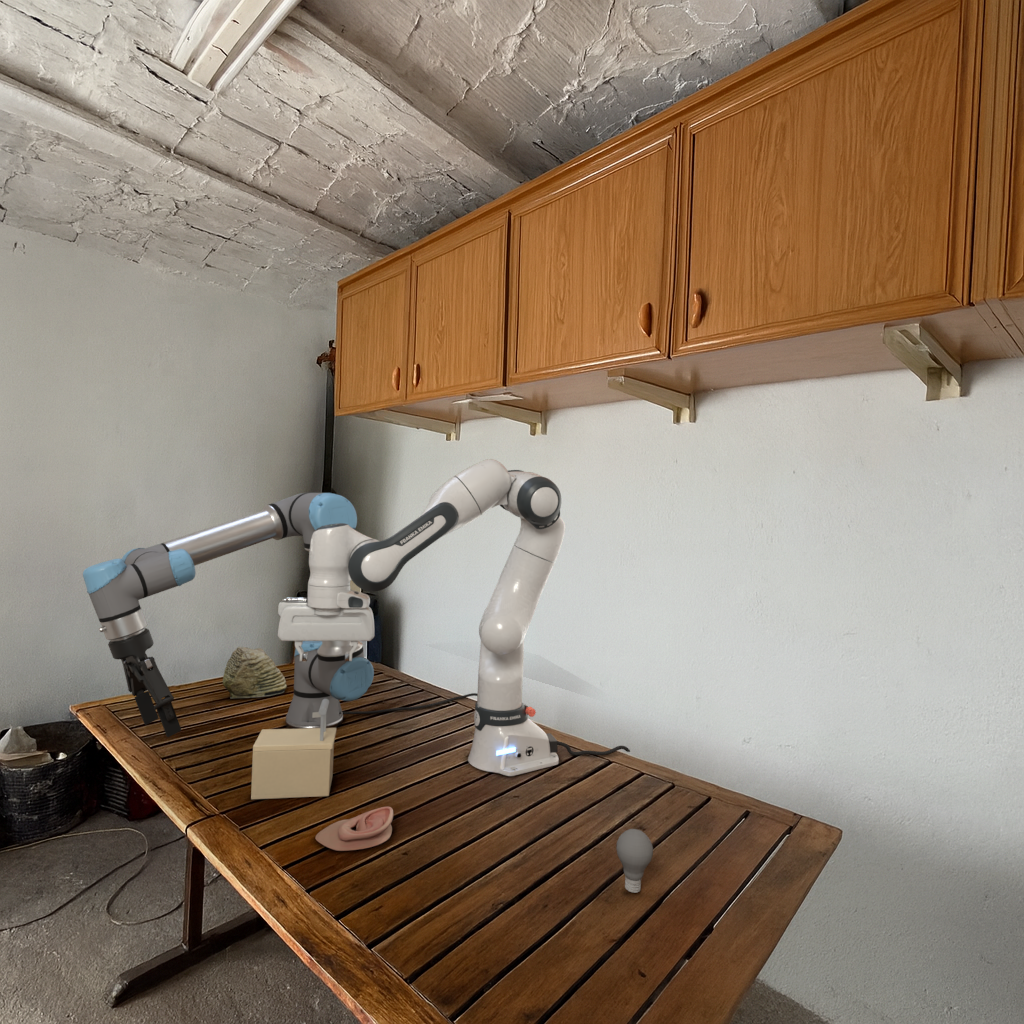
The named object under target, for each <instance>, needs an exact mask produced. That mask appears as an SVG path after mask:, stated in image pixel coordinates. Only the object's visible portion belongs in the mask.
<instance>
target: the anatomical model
mask: <svg viewBox="0 0 1024 1024" xmlns="http://www.w3.org/2000/svg"><path fill="white" fill-rule="evenodd" d="M393 819H394V809H393V808H392V807H391V806H382V807H378V808H375V809H372V810H368V811H365V812H363V813H361V814H358V815H357V816H354V817H351V818H348V819H341V820H338V821H336V822H334V823H331V824H330V825H328V826H326V827H324V828H323V829H321V830H320V831H319V832H318V833H317V834H316V835H315V840H316V841H317V842H318V843H319V844H320V845H322V846H324V847H326V848H328V849H330V850H333V851H336V852H347V851H357V850H364V849H369V848H372V847H376V846H379V845H382V844H383V843H385V842H387V841H388V840H389V839H390V838H391V836H392V832H393V826H392V822H393Z"/></svg>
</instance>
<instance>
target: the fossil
mask: <svg viewBox="0 0 1024 1024" xmlns="http://www.w3.org/2000/svg"><path fill="white" fill-rule="evenodd" d="M222 676H223V677H222V685H223V687H224V688H225V690H226V691H228V693H229V698H230V699H250V698H264V697H271V696H275V695H281V694H284V693H285V691H286V689H287V687H288V686H287V680H286V678H285V676H284V674H283V673H282V672H281V669H279V668H278V667H277V665H276V663H275V662H274V660H273V659H272V658H271V657H270V656H269V655H268V654H267V653H266V652H265V650H264V649H263V648H260V647H258V648H251V647H247V646H246V647H245V646H238V647H237V648H236V649H235V650H233V651H232V653H231V656H230V657H229V659H228V660H227V663H226V666H225V668H224V671H223V675H222Z"/></svg>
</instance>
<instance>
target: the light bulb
mask: <svg viewBox="0 0 1024 1024" xmlns="http://www.w3.org/2000/svg"><path fill="white" fill-rule="evenodd" d="M615 849H616V854H617V857H618V859H619V861H620V863H621V865H622V867H623V873H624V874H623V875H624V876H625V878H624V888H625V890H627V891H628V892H630V893H634V894H635V893H639V892H640V891H641V889H642V887H641V886H642V879H643V877H644V875H645V871H646V868H647V867H648V866H649V864H650V863H651V861H652V859H653V855H654V847H653V843H652V841H651V838H649V836H648V835H647V834H646V833H645V832H643V831H642V830H641V829H636V828H629V829H627V830H625V831H623V832H622V833H621V834H620V835H619V837H618V839H617V841H616V847H615Z"/></svg>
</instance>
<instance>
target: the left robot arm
mask: <svg viewBox="0 0 1024 1024" xmlns="http://www.w3.org/2000/svg"><path fill="white" fill-rule="evenodd" d="M339 523H345V524H348V525H349V526H350V527H351V528H353V529H354V530H356V528H357V525H358V515H357V511H356V508H355V506H354V504H353V503H352V502H351V501H350V500H349V499H347V497H345V496H343V495H341V494H337V493H332V492H310V491H309V492H307V491H306V492H305V491H304V492H301V493H297V494H294V495H291V496H289V497H285V498H283V499H280V500H277V501H275V502H272V503H268V504H265V505H264V506H263V508H262V510H259V511H257V512H253V513H251V514H248V515H244V516H241V517H238V518H235V519H232V520H229V521H226V522H223V523H220V524H216V525H213V526H210V527H208V528H207V527H206V528H204V529H201V530H198V531H195V532H192V533H188V534H186V535H183V536H179V537H176V538H173V539H170V540H167V541H163V542H161V543H158V544H154V545H151V546H148V547H138V548H132V549H130V550H128V551H127V552H125V554H123V555H122V556H121V558H113V559H109V560H107V561H102V562H99V563H96V564H93V565H90V566H88V567H86V568H85V569H84V570H83V573H82V577H83V581H84V584H85V587H86V593H87V594H88V596H89V599H90V601H91V603H92V607H93V609H94V611H95V614H96V617H97V618H98V621H99V624H100V625H101V627H99V628H98V630H99V633H103V634H104V636H105V640H107V641H108V643H107V645H108V648H109V652H110V654H111V656H112V658H113V659H114V660H121V663H122V668H123V671H124V672H123V673H124V675H125V680H126V686H127V691H128V692H129V693H131V695H132V696H133V697H134V698H133V699H134V700H135V703H136V705H137V708H138V711H139V713H140V716H141V719H142V721H143V724H144V725H145V726H147V725H149V724H151V723H153V722H155V721H157V720H159V719H160V723H161V725H162V729H163V730H164V733H165V735H166V738H170V737H171V736H174V735H176V734H177V733H180V732H181V731H182V727H181V724H180V721H179V719H178V717H177V713H176V711H175V708H174V706H173V703H172V702H174V700H175V698H174V696H173V694H172V692H171V691H170V690H171V689H170V688H169V685H167V683H166V681H165V679H164V677H163V674H162V673H161V671H160V669H159V667H158V664H157V663H156V659H155V657H153V656H148V655H147V653H146V652H147V651H148V650H149V649H151V648H152V647H153V646H154V643H155V642H154V640H153V637H152V634H151V632H150V629H148V628H146V627H147V626H148V622H147V620H146V616H145V615H144V611H143V609H142V607H141V605H140V601H139V600H142V599H145V598H148V597H151V596H153V595H156V594H159V593H162V592H165V591H168V590H170V589H174V588H176V587H182V585H185V584H187V583H188V582H191V581H193V580H194V579H195V577H196V574H197V573H196V567H195V566H198V565H201V564H204V563H207V562H209V561H212V560H215V559H218V558H220V557H223V556H226V555H229V554H231V553H235V552H237V551H241V550H243V549H245V548H249V547H252V546H254V545H257V544H260V543H263V542H265V541H268V540H271V539H273V540H274V541H280V540H283V539H286V538H291V537H302V539H303V547H304V550H305V551H307V552H308V553H309V552H310V543H311V538H312V535H313V532H314V531H315V530H316V529H317V528H319V527H321V526H325V525H329V524H339ZM301 647H302V649H303V651H304V652H308V655H307V657H308V659H307V661H302V662H300V654H299V652H298V651H297V649H296V648H295V650H294V655H293V657H294V672H293V695H292V696H293V697H292V699H291V702H290V704H289V708H288V711H287V713H286V715H285V726H286V728H287V729H304V728H320V724H321V715H320V714H319V709H320V706H321V703H322V700H323V699H328V700H329V705H328V709H327V715H326V728H337V727H339V726H340V725H342V723H343V722H344V715H372V714H373V715H374V714H382V713H389V712H397V711H410V710H420V709H426V708H431V707H434V706H438V705H443V704H445V703H449V702H452V701H455V700H460V699H465V698H468V697H477V693H478V692H477V693H476V692H473V693H467V694H463V695H457V696H453V697H450V698H448V699H444V700H441V701H437V702H433V703H428V704H423V705H416V706H405V707H392V708H386V709H378V710H369V711H364V710H363V711H361V710H360V711H357V710H353V711H352V710H351V711H343V709H342V706H341V702H340V701H343V702H353V701H357V700H358V699H360V698H361V697H363V696H364V695H365V694H366V693H367V692H368V690H369V688H370V687H371V686H372V683H373V681H374V676H375V670H374V666H373V664H372V662H371V661H370V660H369V659H368V658H367V657H365V653H364V644H363V641H358V645H357V647H356V649H355V650H354V652H353V654H352V661H345V652H349V651H350V650H351V648H352V647H353V646H351V641H303V644H302V645H301ZM154 703H155V705H154Z"/></svg>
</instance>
